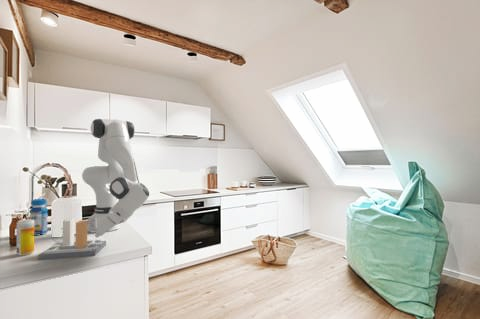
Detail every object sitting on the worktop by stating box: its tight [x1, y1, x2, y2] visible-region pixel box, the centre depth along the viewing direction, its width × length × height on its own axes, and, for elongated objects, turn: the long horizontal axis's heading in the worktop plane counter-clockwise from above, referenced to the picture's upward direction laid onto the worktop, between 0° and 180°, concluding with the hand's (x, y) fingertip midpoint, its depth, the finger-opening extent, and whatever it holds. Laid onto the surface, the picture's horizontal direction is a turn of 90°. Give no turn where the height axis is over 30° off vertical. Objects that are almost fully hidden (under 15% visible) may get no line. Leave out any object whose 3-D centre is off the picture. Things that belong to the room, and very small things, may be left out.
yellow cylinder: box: [16, 218, 35, 257], centre depth 114 cm, size 6×6×15 cm
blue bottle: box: [28, 198, 49, 236], centre depth 146 cm, size 8×8×20 cm
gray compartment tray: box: [37, 218, 107, 260], centre depth 116 cm, size 22×15×14 cm
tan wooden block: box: [75, 219, 88, 249], centre depth 114 cm, size 3×5×12 cm, turn 12°
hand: (96, 236), depth 115 cm, fingers closed
